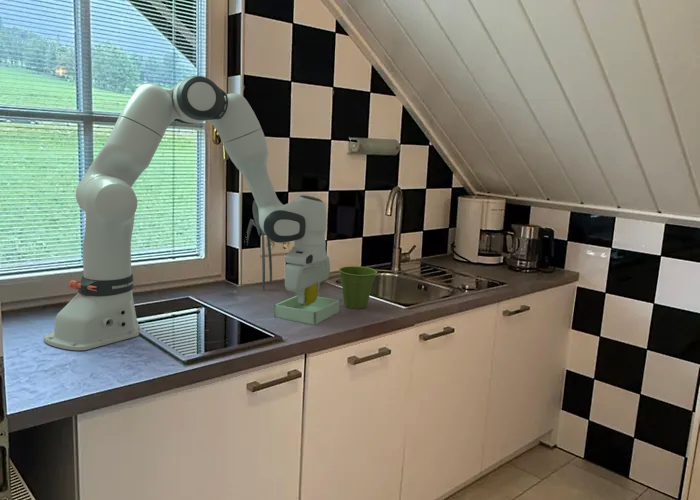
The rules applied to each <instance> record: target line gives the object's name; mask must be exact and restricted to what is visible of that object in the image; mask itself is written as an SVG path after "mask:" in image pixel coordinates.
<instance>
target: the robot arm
mask: <svg viewBox="0 0 700 500" xmlns="http://www.w3.org/2000/svg"><path fill="white" fill-rule="evenodd" d="M173 121H174V122H179V123H181V124H182V123H183V124H189V125H193V124H200V123H203V122H208V123H210V124H211V126H213V127H214V129H215V130H216V131H217V133H218V136H219V138H220V141H221V143H222V145H223V147H224V150H225V153H226V154H227V155H228V157H229V159H230V161H231V162H232V163H233V165H234V166H235V167H236V169H237V170H238V171H239V172H240V173H241V175H242V176H243V177H244V179H245V180H246V182H247V184H248V187H249V189H250V191H251V195H252V197H253V199H254V200H255V202H256V205H257V222H258V226H259V228H260V230H261V231H262V232H263V233H264V236H265V237H266V238H267V237H268V238H269V239H270V241H272V242H274V243H279V244H280V243H288V242H293V241H294V242H293V243H294V245H293V247H292V248H291V250H289V251H288V252H287V253H286V254H285V255H284V263H286V265H285V267H284V287H285V289H286V291H289V292H291V293H292V292H294V293H296V296H298V303H301V304H303V303H305V302H306V297H305V296H304V292H305V288H307V287H310V286H312V285H313V284H314V283H315V284H316V285H317V289H318V291H319V289H320V287H321V283H322V282H325V281H326V280H329V278H330V276H331V273H330V272H331V263H330V257H329V255H328V252H327V250H326V246H327V245H326V238H325V234H326V231H327V207H326V204H325V202H324V201H323V200H322V199H321V198H318V197H315V196H310V195H304V194H303V195H299V196H298V197H297V198H295V199H294V200H292V201H290V202H288V203H286V204H283V203H282V202H281V201H280V199H279V198H278V196H277V194H276V191H275V189H274V186H273V184H272V181H271V178H270V176H269V172H268V166H267V165H268V157H269V149H268V144H267V140H266V137H265V134H264V131H263V129H262V126H261V124H260V121H259V120H258V118H257V116H256V114H255V111H254V110H253V109H252V107H251V105H250V103H249V102H248V100H247V99H246V98H245V97H244V96H243V95H242V94H240V93H233V92H232V93H226V92H225V91H224V90H223V89H222V88H220V87H219V86H218V85H217V84H216V83H215V82H214V81H212V80H211V79H210V78H208V77H206V76H202V75H192V76H188V77H186V78H184V79H182V80H180V81H179V82H178V83H176V84H175V85H174V86H173V87H171V88H170V89H166V88H163V87H162V86H159V85H157V84H153V83H144V84H141V85H140V86H138V87H137V89H136V90H135V91H134V92H133V94H132V95H131V97H130V98H129V99H128V101H127V102H126V104H125V106H124V107H123V109H122V111H121V112H120V114H119V116H118V118H117V120H116V123H115V124H114V125H113V128H112V130H111V132H110V134H109V136H108V137H107V140H106V141H105V143H104V145H103V147H102V149H101V150H100V151H99V153H98V154H97V155H96V156H95V158H94V160H93V161H92V163H91V164H90V166H89V168H88V169H87V170H86V172H85V174H84V175H83V177H82V179H81V180H80V181H79V183H78V184H77V186H76V190H75V199H76V202H77V204H78V207H80V209H81V210H82V211H83V212H84V213H85V227H84V229H85V230H84V236H83V242H82V265H83V266H82V267H83V269H82V270H83V271H82V273H83V275H82V276H81V280H80V281H78V280H74V279H71V280H70V281H69V282H68V287H69V288H70V289H74V290H77V294H76V295H75V296H73V298H72V299H71V300H70V301H68V303H67V304H66V305H65V306H64V307H63V308H62V309H61V310H60V311H59V312H58V313H56V315H55V320H54V328H53V329H54V330H53V331H52V332H50V333H47V334H45V335H44V336H43V341H44V342H45V344H48V345H49V346H52V347H56V348H60V349H63V350H71V351H86V350H92V349H95V348H99V347H103V346H106V345H110V344H112V343H113V344H114V343H117V342H120V341H121V342H122V341H123V340H128V339H131V338H135V337H138V336H140V331H139V329H140V324H139V322H138V319H137V314H136V308H135V302H134V301H135V300H134V296H133V289H134V287H135V286H134V284H135V281H134V275H133V273H132V249H131V248H132V237H133V230H134V223H135V216H136V214H135V213H136V211H137V209H138V198H137V196H136V193H135V191H134V189H133V185H134V184H135V183H136V181H137V180H138V179H139V178H140V176H141V175H142V173H143V172H144V171H145V170H147V168H148V167H149V165H150V164H151V162H152V161H153V157H154V156H155V154H156V152H157V150H158V148H159V146H160V143H161V142H162V140H163V138H164V135H165V133H166V131H167V129H168V127H169V125H171V124H172V122H173ZM262 232H261V233H262Z"/></svg>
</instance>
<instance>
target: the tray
mask: <svg viewBox="0 0 700 500" xmlns="http://www.w3.org/2000/svg"><path fill="white" fill-rule="evenodd" d="M340 312H341V299H335V298H330V297H324V296H319V295H318V296H317V299H316V301H315V302H314V303H312V304H310V305H309V306H307V305H306V304H304V303H303V304H301V303H298V296H297V295H295V296H293V297H290V298H287V299H286V300H285V299H284V300H283V301H281V302H278V303H276V304H274V307H273V317H274V318H277V319H282V320H289V321H294V322H297V323H302V324H306V325H311V324H312V326H317V325H318V324H320V323H322V322H324V321H325V320H327V319H329V318H331V317H333V316H334V314H335V315H336V314H338V313H340ZM332 315H333V316H332Z"/></svg>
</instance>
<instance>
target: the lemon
mask: <svg viewBox="0 0 700 500" xmlns="http://www.w3.org/2000/svg"><path fill="white" fill-rule="evenodd" d="M318 294H319V290H318V289H317V285H316V284H315V283H314V284H313V285H312V286H310V287H307V288H305V292H304V296H305V297H306V302H305V303H304V304H306V305H307V306H309V305H310V304H312V303H314V302H315V301H316V299H317V296H319V295H318Z"/></svg>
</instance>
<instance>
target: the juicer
mask: <svg viewBox="0 0 700 500" xmlns="http://www.w3.org/2000/svg"><path fill="white" fill-rule="evenodd" d="M252 215H253V219H252V218H250V220H249V222H248V227H247V230H246V233H247V237H246V236H245V238H247V239H246V240H247V241H246V242H247V245H248V244H249V239H250V235H251V231H252V229H253V226H254V227H255V228H256V230H257V233H258V236H259V237H261V260H262V261H261V262H262V263H261V264H262V266H261V267H262V269H261V270H262V271H261V273H262V280H261V281H262V291H263V292H265V291H266V252H265V251H266V249H265V248H266V247H265V234H264V233H263V232H262V231H261V230H260V228H259V226H258V222H257V205H256V202H255V199H254V200H253V202H252ZM266 242H267V250H268V252H267V253H268V265H269V266H268V267H269V283H270V284H272V283H273V261H272V260H273V259H272V248H271V247H272V245H271V240H270V239H269V238H268V237H267V236H266Z"/></svg>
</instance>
